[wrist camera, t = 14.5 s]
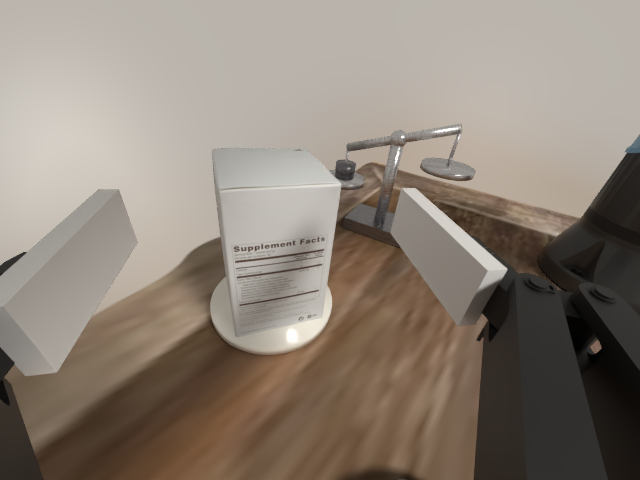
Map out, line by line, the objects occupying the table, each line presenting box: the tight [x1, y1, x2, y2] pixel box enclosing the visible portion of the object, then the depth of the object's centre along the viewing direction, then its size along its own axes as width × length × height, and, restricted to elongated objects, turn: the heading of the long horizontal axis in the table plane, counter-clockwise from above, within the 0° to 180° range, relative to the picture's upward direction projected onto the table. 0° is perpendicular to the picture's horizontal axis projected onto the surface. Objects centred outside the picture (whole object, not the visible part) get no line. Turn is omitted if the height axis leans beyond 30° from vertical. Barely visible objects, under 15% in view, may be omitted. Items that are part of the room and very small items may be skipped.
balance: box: [329, 124, 475, 248], centre depth 43 cm, size 22×7×18 cm, turn 61°
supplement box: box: [212, 148, 341, 337], centre depth 26 cm, size 9×9×15 cm
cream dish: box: [210, 277, 332, 355], centre depth 31 cm, size 13×13×1 cm
